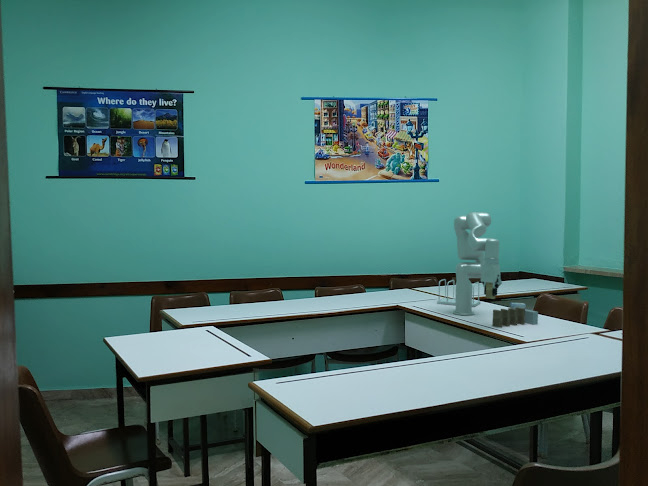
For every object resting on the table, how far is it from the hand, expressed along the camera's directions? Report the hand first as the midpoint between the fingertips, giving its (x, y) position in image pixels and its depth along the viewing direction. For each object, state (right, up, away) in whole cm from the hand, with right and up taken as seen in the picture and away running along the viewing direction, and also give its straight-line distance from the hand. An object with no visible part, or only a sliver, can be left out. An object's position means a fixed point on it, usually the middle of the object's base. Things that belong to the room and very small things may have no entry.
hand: (490, 294), depth 341 cm
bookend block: (+26, -18, +17) cm, 36 cm away
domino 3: (+10, -18, +7) cm, 22 cm away
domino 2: (+5, -18, +4) cm, 19 cm away
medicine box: (+25, -17, +32) cm, 44 cm away
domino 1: (0, -2, 0) cm, 2 cm away
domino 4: (+15, -18, +10) cm, 25 cm away
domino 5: (+20, -18, +13) cm, 30 cm away
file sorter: (0, -13, +80) cm, 81 cm away
